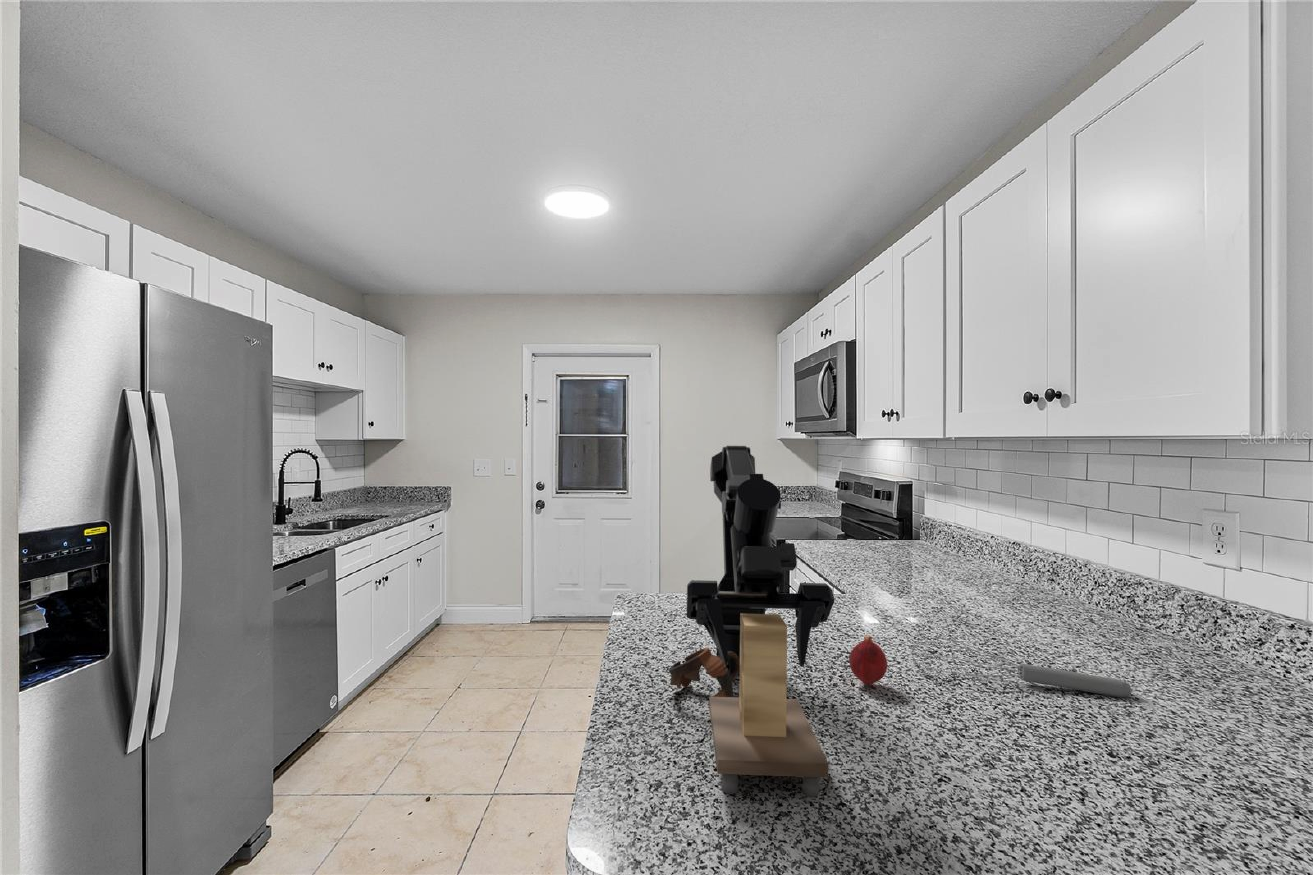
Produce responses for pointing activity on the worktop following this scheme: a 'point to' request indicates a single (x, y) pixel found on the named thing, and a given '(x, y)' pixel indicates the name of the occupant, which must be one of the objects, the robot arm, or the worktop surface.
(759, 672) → the wooden block
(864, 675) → the onion
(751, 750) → the footed wooden board
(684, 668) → the brown jagged curved piece
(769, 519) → the robot arm
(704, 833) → the worktop surface
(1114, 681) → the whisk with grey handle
